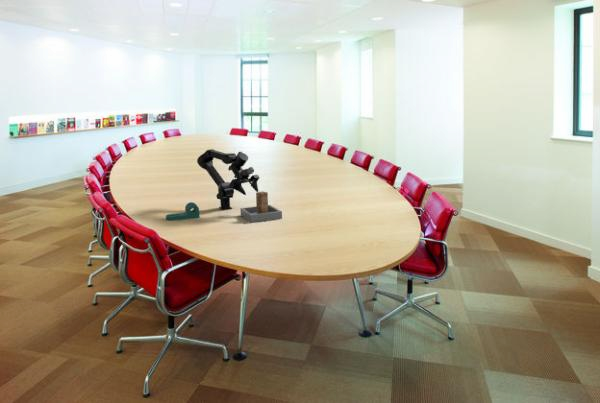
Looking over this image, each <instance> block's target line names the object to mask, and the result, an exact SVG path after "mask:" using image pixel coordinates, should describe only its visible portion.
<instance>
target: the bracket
mask: <svg viewBox="0 0 600 403" xmlns="http://www.w3.org/2000/svg"><path fill="white" fill-rule="evenodd" d="M184 210H185V212H179V213H176V212H175V213H170V214H169V213H168V214H166V215H165V220H166V221H169V222H170V221H181V220H191V219H199V218H200V216H201V215H200V208H199V206H198V205H197V204H196V203H195V202H192V201H191V202H188V203H187V204H186V205H185V207H184Z"/></svg>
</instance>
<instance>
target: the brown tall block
mask: <svg viewBox="0 0 600 403" xmlns="http://www.w3.org/2000/svg"><path fill="white" fill-rule="evenodd" d="M255 197H256V199H255V200H256V202H255V203H256V206H255V207H257V214H261V213H268V205H269V193H268V191H258V192H255Z"/></svg>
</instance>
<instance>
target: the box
mask: <svg viewBox="0 0 600 403" xmlns="http://www.w3.org/2000/svg"><path fill="white" fill-rule="evenodd" d="M239 210H240V216H241V217H243V218H244V219H246V220H247V221H249V222H250V223H252V224H253V223H259V222H267V221H274V220H280V219H283V211H282V210H280V209H279V208H277V207H275V206H272V205H271V204H268V213H261V214H257V207H256V206H250V207H249V206H247V207H240V208H239Z"/></svg>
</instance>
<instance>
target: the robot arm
mask: <svg viewBox="0 0 600 403" xmlns="http://www.w3.org/2000/svg"><path fill="white" fill-rule="evenodd" d="M214 159H217V160H219V161H221V162H222V163H223V164H225V165H229V166H228V168H227V169H228V172H229V171H232V173H233V175H234V176H233V178H232V179H231V181H227V182H226V181H225V180H224V179H223V177H222V176H221V174H220V173H219V172H218V171H217V169H216V167H214V165H213V164H214V161H213V160H214ZM248 160H249V156H248V155H247V154H246V153H243V152H242V151H238V152H237V154H236V153H235V152H234V153H232V152H230V153H229V152H228V153H224V152H223V151H219V150H215V149H213V148H211V149H206V150H205V152H203V153H202V154H201V155H199V156H198V157H197V159H196V162H197V164H198V166H199V167H200V168H201V169H203V170H205V171H206V172H207V173H208V175H209V176H210V178H211V179H212V180H213V182H214V183H215V185H217V194H216V195H215V196H216V199H217V200H220V201H219V202H220V206H219V207H218V208H219V209H220V210H230V209H232V210H233V207H232V206H231V198H232V199H233V198H234V192H235V191H236V192H239V193H240V194H242V195H244V196H246V195H247V193H246V191H245V189H244V187H243V184H245V183H249V185H250V187H251V188H252V189H253V190H254V191H255V193H257V192H259V186H258V181H259V180H260V175H258V174H254V172H255V170H254V168H253V166H250V167H248V168H245V169H243V167H244V165H245V164H246V163H247V161H248ZM250 175H251V176H250Z"/></svg>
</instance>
